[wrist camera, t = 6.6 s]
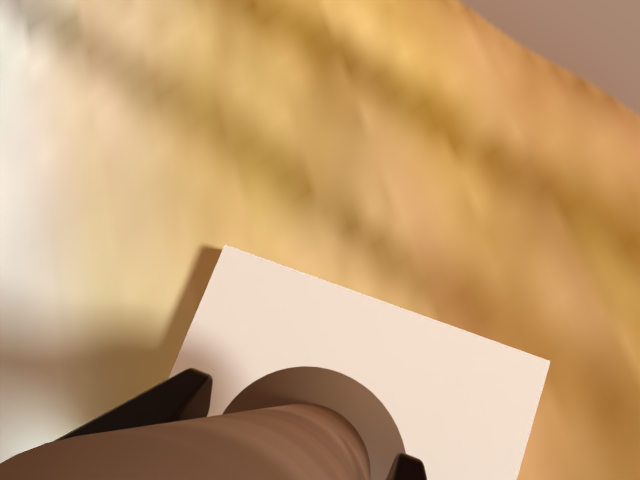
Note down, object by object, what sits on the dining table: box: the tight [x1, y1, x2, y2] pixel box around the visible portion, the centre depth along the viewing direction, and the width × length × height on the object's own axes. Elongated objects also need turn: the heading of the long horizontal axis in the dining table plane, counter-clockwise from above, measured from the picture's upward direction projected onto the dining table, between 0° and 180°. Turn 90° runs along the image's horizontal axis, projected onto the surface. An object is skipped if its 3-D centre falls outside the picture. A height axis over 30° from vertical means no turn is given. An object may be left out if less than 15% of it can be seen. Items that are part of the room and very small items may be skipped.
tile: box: [168, 245, 550, 480], centre depth 21 cm, size 11×13×1 cm
